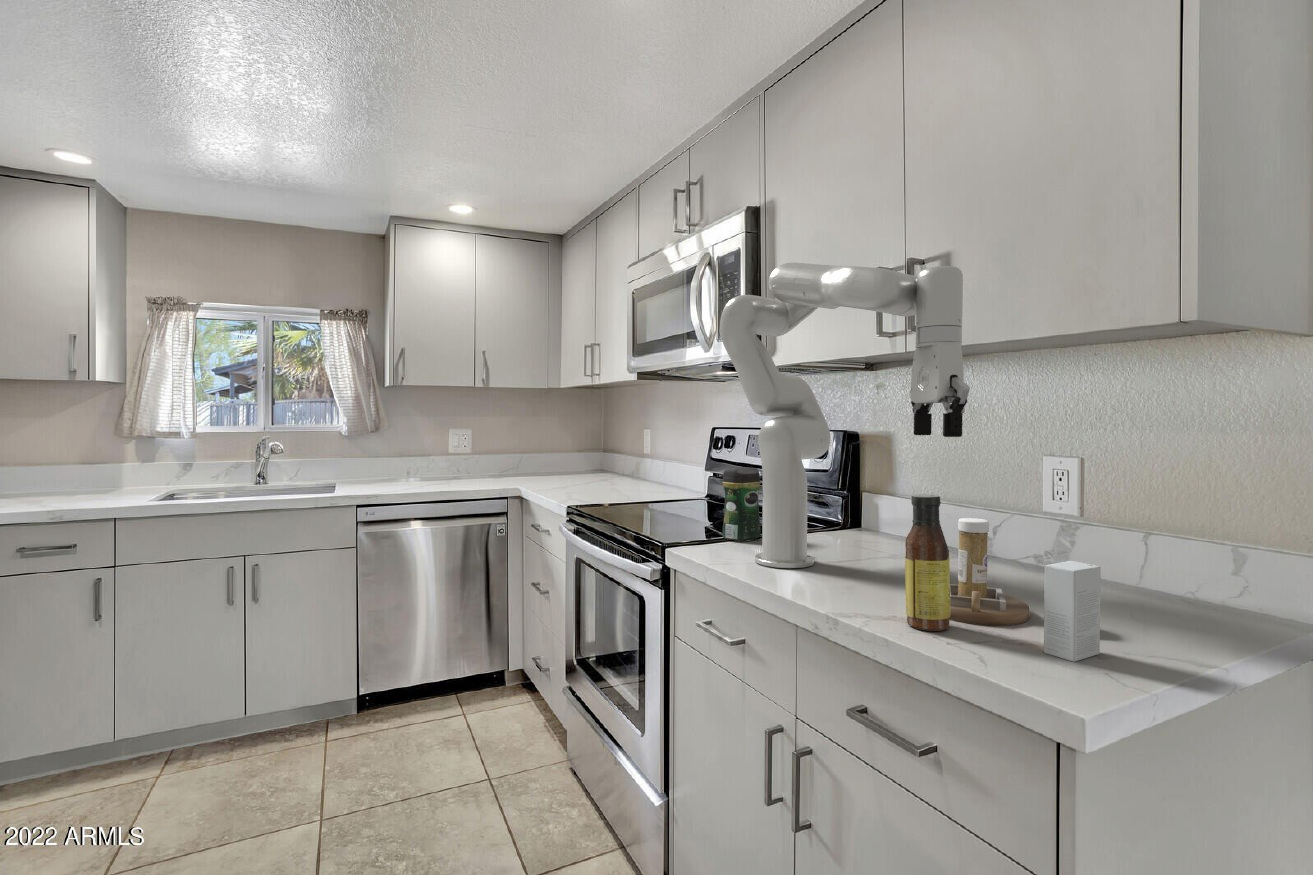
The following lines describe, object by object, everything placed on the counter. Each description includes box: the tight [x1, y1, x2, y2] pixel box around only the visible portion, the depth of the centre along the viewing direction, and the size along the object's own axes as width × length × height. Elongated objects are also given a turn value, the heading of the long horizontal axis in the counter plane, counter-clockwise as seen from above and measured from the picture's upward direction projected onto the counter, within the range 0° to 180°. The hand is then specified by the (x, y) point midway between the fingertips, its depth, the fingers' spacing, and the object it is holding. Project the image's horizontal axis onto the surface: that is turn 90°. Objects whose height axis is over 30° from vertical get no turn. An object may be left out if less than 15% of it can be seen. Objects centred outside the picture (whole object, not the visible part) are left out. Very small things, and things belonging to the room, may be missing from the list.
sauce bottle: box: [904, 493, 951, 632], centre depth 101 cm, size 7×6×20 cm
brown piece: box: [950, 583, 1031, 627], centre depth 109 cm, size 16×16×4 cm
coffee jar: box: [722, 466, 762, 542], centre depth 172 cm, size 10×8×19 cm
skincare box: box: [1043, 560, 1102, 663], centre depth 89 cm, size 6×4×12 cm
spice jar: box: [957, 517, 990, 599], centre depth 109 cm, size 5×5×14 cm
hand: (936, 435), depth 118 cm, fingers open, 9 cm apart
